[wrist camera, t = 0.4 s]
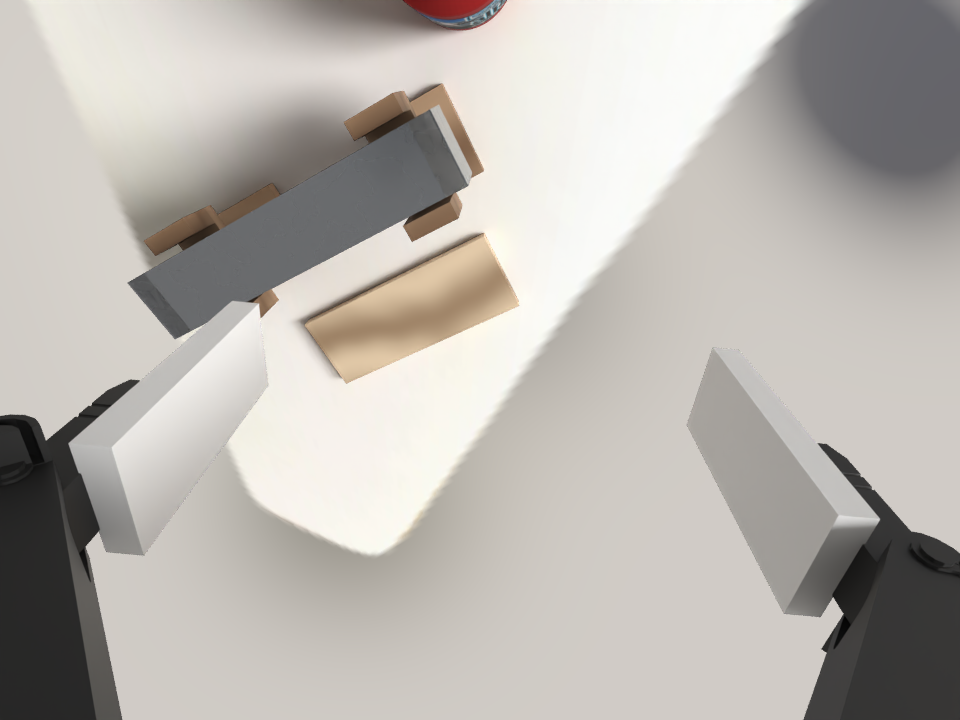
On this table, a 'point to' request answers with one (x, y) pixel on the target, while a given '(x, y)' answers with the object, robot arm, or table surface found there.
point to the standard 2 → (394, 115)
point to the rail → (308, 223)
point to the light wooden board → (414, 310)
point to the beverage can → (457, 12)
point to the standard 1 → (213, 231)
